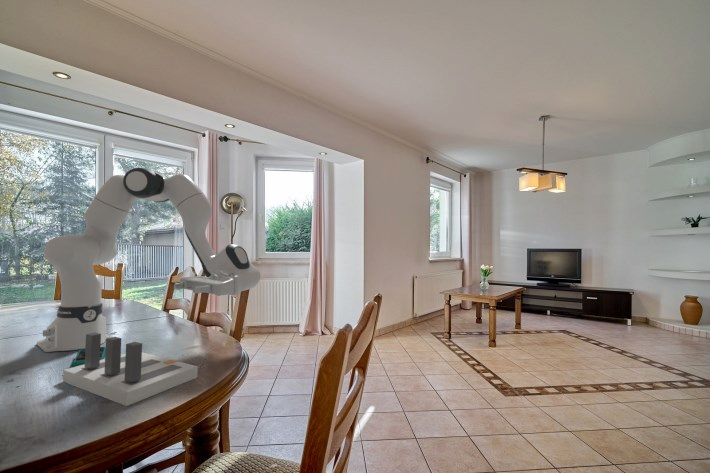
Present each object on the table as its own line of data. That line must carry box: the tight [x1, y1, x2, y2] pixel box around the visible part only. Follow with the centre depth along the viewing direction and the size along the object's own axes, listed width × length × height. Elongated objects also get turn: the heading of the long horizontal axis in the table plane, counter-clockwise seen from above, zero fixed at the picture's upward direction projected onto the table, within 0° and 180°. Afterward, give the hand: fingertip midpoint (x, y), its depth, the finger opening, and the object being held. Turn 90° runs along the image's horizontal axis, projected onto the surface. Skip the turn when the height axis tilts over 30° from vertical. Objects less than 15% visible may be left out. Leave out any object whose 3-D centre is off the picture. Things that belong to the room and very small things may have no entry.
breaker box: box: [62, 351, 199, 407], centre depth 86 cm, size 28×18×3 cm, turn 64°
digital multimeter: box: [70, 346, 106, 368], centre depth 99 cm, size 7×15×3 cm, turn 34°
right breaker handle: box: [125, 341, 143, 382], centre depth 78 cm, size 3×2×9 cm, turn 64°
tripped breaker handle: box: [104, 336, 122, 375], centre depth 82 cm, size 3×2×9 cm, turn 64°
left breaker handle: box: [84, 333, 102, 369], centre depth 85 cm, size 3×2×9 cm, turn 64°
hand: (184, 288), depth 101 cm, fingers open, 8 cm apart
